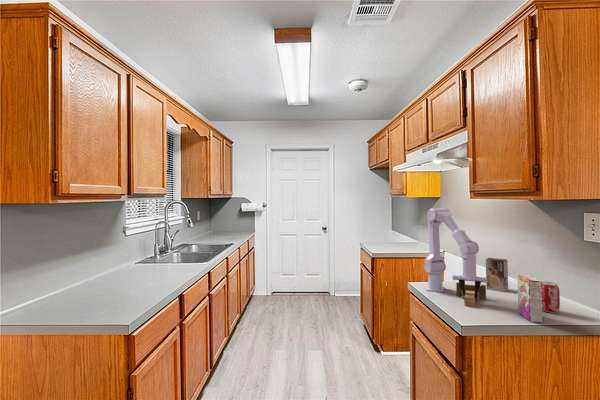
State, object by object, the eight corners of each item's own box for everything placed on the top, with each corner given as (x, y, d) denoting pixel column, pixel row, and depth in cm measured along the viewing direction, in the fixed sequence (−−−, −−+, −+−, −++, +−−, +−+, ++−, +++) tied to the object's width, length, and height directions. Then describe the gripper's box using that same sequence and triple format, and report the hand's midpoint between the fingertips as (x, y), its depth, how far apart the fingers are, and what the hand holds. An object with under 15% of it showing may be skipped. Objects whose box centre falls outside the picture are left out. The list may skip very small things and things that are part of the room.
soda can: (563, 312, 146) (562, 283, 146) (554, 315, 143) (554, 286, 143) (544, 307, 152) (544, 280, 152) (536, 310, 149) (535, 282, 149)
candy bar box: (517, 313, 146) (516, 274, 146) (530, 313, 145) (529, 274, 145) (529, 322, 135) (528, 280, 135) (543, 323, 134) (543, 280, 134)
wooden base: (456, 295, 174) (456, 282, 174) (486, 298, 168) (485, 285, 168) (455, 297, 170) (455, 284, 170) (485, 301, 164) (485, 287, 164)
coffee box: (508, 289, 183) (508, 259, 183) (504, 292, 178) (504, 261, 178) (490, 286, 189) (489, 257, 189) (485, 289, 185) (485, 259, 185)
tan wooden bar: (466, 297, 170) (466, 289, 170) (475, 298, 168) (475, 290, 168) (464, 306, 157) (464, 297, 157) (474, 307, 155) (474, 298, 155)
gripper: (451, 268, 163) (452, 296, 163) (486, 270, 156) (487, 300, 156) (453, 265, 169) (453, 293, 169) (487, 267, 162) (487, 296, 162)
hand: (470, 296), depth 163 cm, fingers closed on tan wooden bar, 4 cm apart
